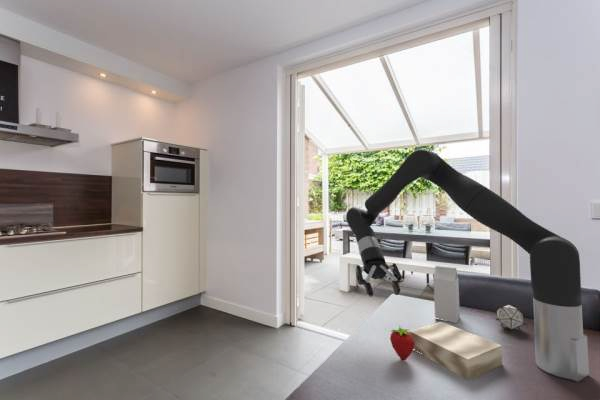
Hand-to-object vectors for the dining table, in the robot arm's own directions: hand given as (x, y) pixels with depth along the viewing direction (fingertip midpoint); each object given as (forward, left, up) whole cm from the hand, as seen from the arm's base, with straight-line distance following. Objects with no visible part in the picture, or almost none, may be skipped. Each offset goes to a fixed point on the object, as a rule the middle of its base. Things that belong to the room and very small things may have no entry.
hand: (384, 294), depth 89 cm
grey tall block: (+3, -32, -15) cm, 36 cm away
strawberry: (-10, +4, -15) cm, 18 cm away
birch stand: (-15, -10, -15) cm, 24 cm away
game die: (-13, -42, -15) cm, 47 cm away
